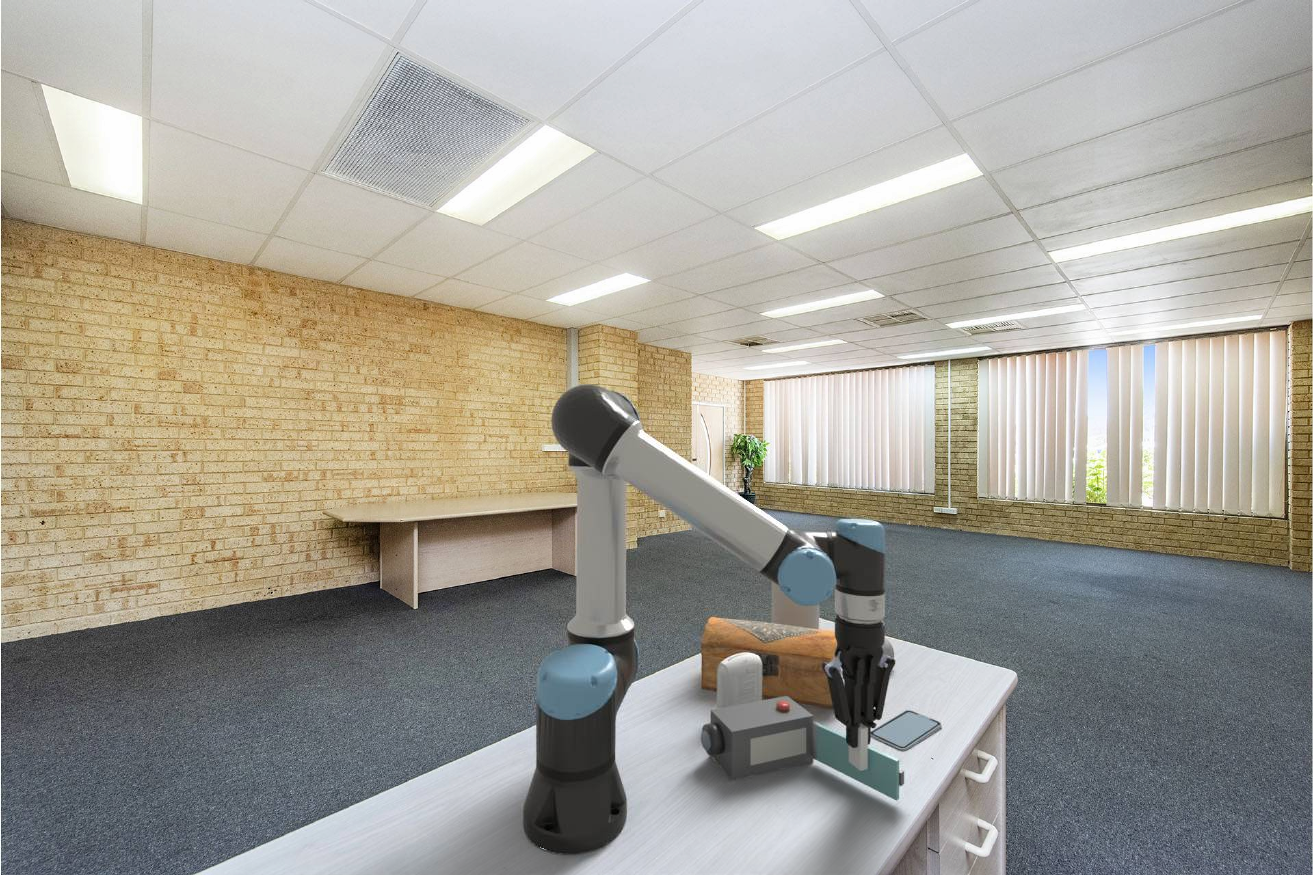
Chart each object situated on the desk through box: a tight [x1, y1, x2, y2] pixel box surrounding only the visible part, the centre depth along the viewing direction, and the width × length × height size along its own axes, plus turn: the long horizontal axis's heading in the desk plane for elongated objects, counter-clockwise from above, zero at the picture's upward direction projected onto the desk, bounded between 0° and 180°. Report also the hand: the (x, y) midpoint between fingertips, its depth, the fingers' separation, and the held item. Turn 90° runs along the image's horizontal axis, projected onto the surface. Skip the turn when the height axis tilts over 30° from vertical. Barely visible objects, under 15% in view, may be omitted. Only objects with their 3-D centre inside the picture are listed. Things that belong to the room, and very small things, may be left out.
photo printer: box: [716, 653, 763, 709], centre depth 112 cm, size 10×4×12 cm, turn 123°
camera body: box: [700, 696, 814, 782], centre depth 96 cm, size 19×8×9 cm, turn 110°
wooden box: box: [700, 616, 837, 710], centre depth 126 cm, size 30×16×14 cm, turn 70°
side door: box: [813, 721, 905, 801], centre depth 90 cm, size 15×2×6 cm, turn 41°
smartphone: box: [870, 709, 942, 752], centre depth 106 cm, size 7×1×15 cm
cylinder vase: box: [771, 581, 820, 630], centre depth 149 cm, size 12×12×25 cm
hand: (858, 764), depth 87 cm, fingers closed
